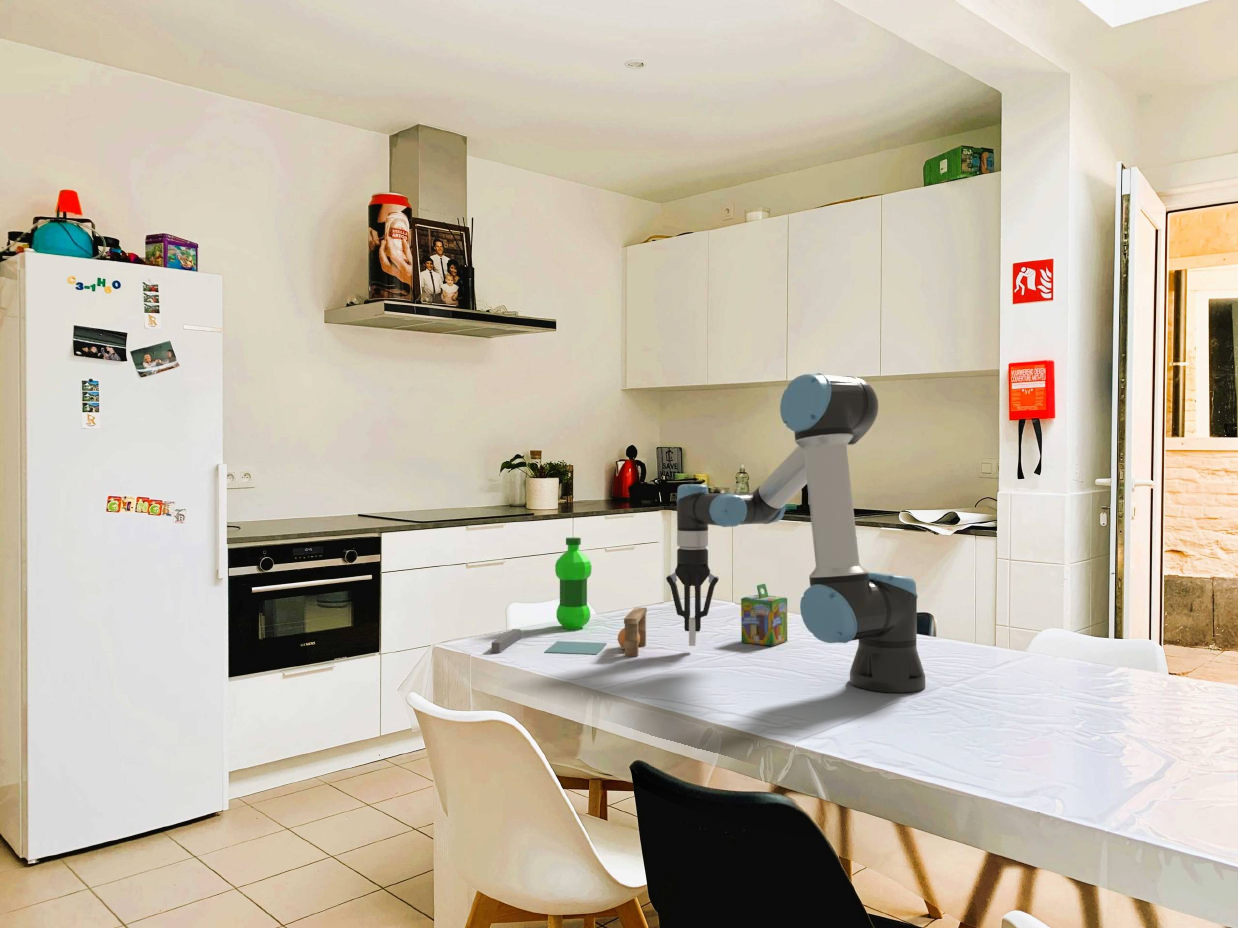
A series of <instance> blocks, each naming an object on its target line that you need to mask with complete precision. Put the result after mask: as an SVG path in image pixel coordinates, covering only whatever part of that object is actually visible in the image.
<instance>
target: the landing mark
mask: <svg viewBox="0 0 1238 928" xmlns="http://www.w3.org/2000/svg"><path fill="white" fill-rule="evenodd" d="M607 644H608V643H607V642H585V641H581V642H580V641H561V640H560V641H558V640H557V641H556V642H554V643H553V644H552V645H551V646H549V647H548V648H547V649H546V650H544V651H543V652H544V654H547V653H548V654H569V655H570V654H573V655H592V656H593V655H594V656H595V655H598V654H599V653H600V652H601V651H602V650H603V649H604V647H606V646H607Z"/></svg>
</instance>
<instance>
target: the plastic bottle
mask: <svg viewBox="0 0 1238 928" xmlns="http://www.w3.org/2000/svg"><path fill="white" fill-rule="evenodd" d="M581 541H582V539H581V537H565V545H566V546H567V549H566V551H565V552H564V553H563V554H561V556H560V557H559V558H557V560H556V562H555V565H554V567H555V568H554V570H555V576H556V577H557V578H558V579H559V604H558V606H557V607H556V619H557V622H558V623H559V624H560V625H561V626H562V627H564V629H567V630H581V629H583V627H585V625H587V624H588V623H589V622H590V619H591V610H590V608H589V605H588V579H589V577H590V576H591V575H592V564H591V561H590V559H589V558H588V557H587V556H586V554H584V553H583V552H582V551H580V546H581Z"/></svg>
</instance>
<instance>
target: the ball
mask: <svg viewBox="0 0 1238 928" xmlns="http://www.w3.org/2000/svg"><path fill="white" fill-rule="evenodd" d="M617 641H618V645H619V646H620V647H621V648H622V649H624V650H625V627H624V628H622V629H620V631H619V632H618V634H617ZM639 642H640V635H639V633H638V644H639Z"/></svg>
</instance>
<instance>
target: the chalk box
mask: <svg viewBox="0 0 1238 928" xmlns="http://www.w3.org/2000/svg"><path fill="white" fill-rule="evenodd" d="M756 590H757V593H758V594H754V595H749V596H745V597H742V598H741V599H740V608H741V609H740V616H741V617H740V618H741V619H740V620H741V623H740V624H741V627H740V628H741V629H740V630H741V637H740V638H741V643H742V644H750V645H751V644H752V645H761V646H769V647H774V646H776V645H779V644H783V643H786V642H785V641H787V642H788V598H787V597H785V596H776V595H769V592H768V589H767V585H766V583H760V584H757V585H756ZM761 590H763V591H764V593H762V592H761Z"/></svg>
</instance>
